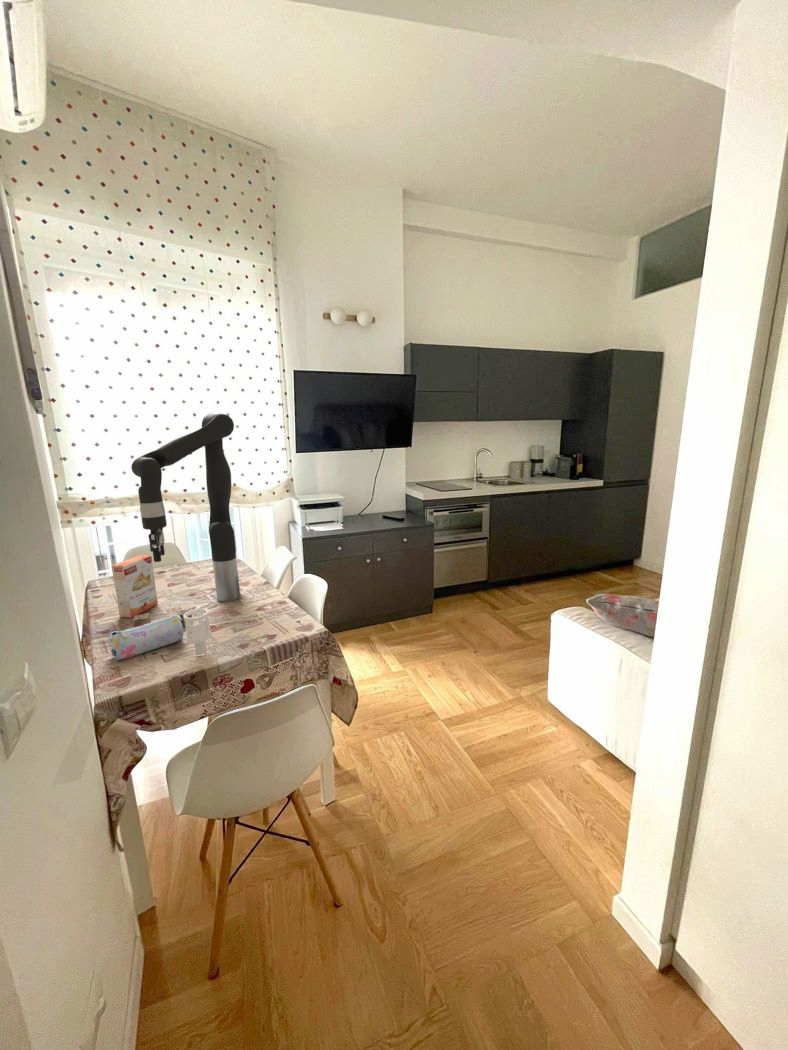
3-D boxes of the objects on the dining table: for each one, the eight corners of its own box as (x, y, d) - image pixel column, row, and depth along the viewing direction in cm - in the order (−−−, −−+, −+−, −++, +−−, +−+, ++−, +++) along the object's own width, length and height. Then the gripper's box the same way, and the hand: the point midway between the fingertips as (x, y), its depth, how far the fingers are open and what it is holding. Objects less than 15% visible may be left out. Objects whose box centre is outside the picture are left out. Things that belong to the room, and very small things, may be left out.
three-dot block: (151, 624, 157) (149, 612, 156) (148, 629, 153) (146, 617, 152) (137, 626, 156) (135, 614, 155) (134, 632, 152) (132, 620, 151)
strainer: (216, 647, 140) (211, 604, 136) (208, 659, 133) (202, 614, 129) (194, 648, 139) (188, 605, 136) (185, 660, 132) (178, 615, 129)
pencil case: (114, 666, 130) (108, 637, 128) (110, 655, 137) (104, 627, 134) (187, 643, 143) (183, 617, 141) (180, 634, 150) (176, 608, 148)
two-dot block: (192, 620, 160) (190, 608, 159) (191, 625, 156) (189, 613, 155) (179, 622, 159) (177, 610, 158) (177, 627, 155) (175, 615, 154)
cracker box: (132, 618, 162) (123, 566, 158) (119, 617, 164) (109, 565, 159) (159, 603, 176) (151, 555, 171) (146, 603, 177) (138, 554, 172)
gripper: (162, 517, 147) (168, 562, 150) (167, 510, 160) (173, 551, 163) (137, 519, 144) (144, 565, 148) (144, 511, 157) (151, 554, 161)
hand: (159, 558), depth 155 cm, fingers open, 8 cm apart
